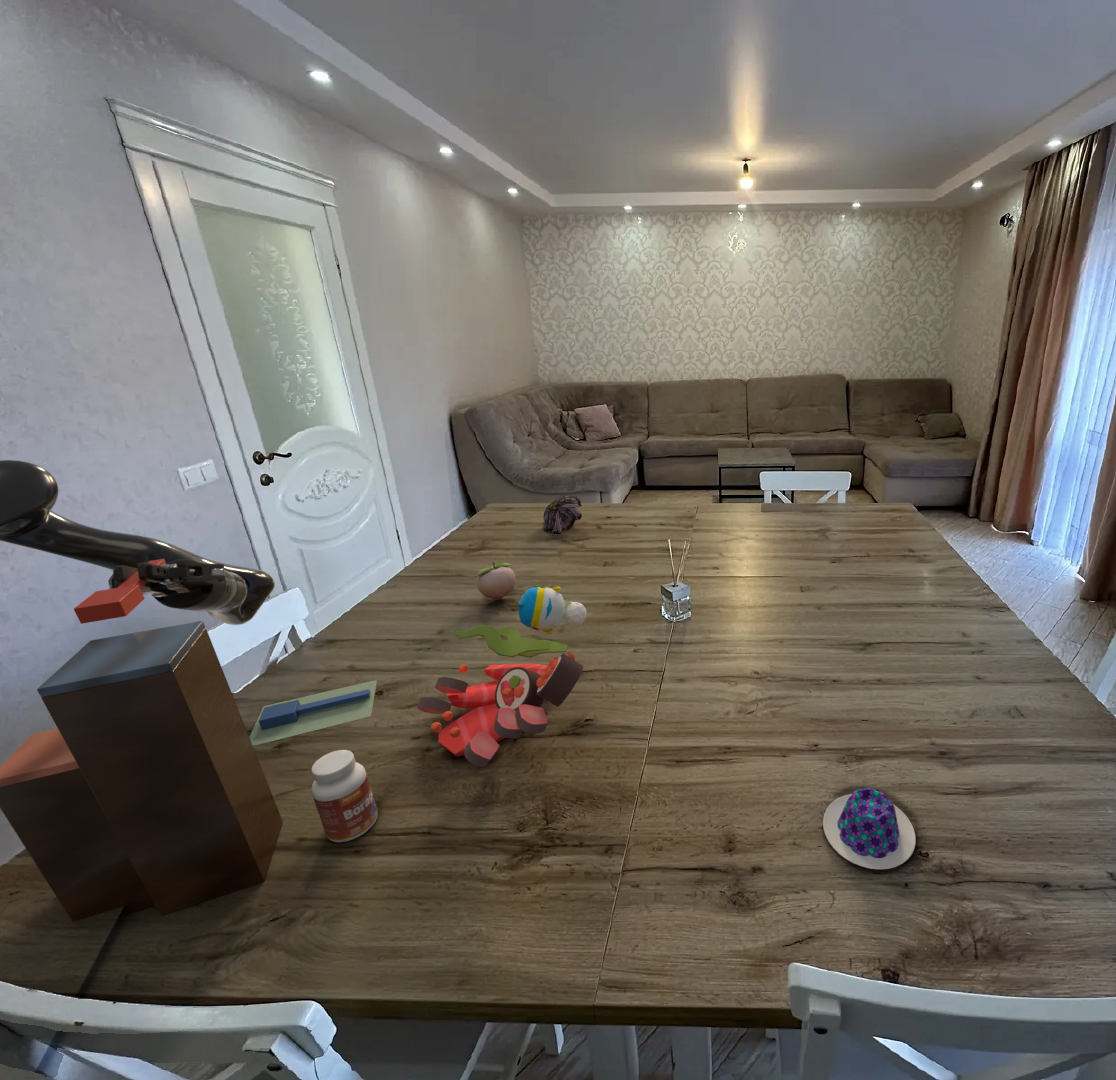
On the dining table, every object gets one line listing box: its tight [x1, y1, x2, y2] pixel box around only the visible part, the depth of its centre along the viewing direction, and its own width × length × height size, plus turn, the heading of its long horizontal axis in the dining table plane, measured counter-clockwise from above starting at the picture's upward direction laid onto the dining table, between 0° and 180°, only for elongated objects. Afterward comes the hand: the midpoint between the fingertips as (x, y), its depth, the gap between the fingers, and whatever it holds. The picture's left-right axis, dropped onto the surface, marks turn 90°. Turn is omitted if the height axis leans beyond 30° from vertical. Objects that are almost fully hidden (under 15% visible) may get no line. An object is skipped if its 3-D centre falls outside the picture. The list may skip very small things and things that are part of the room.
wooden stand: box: [0, 620, 284, 923], centre depth 65 cm, size 18×10×32 cm, turn 115°
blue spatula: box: [259, 689, 371, 730], centre depth 100 cm, size 4×16×2 cm, turn 115°
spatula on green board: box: [249, 679, 378, 747], centre depth 100 cm, size 18×12×1 cm, turn 115°
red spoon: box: [73, 559, 167, 625], centre depth 72 cm, size 4×16×2 cm, turn 25°
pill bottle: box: [310, 749, 379, 843], centre depth 76 cm, size 6×6×11 cm
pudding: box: [822, 787, 917, 870], centre depth 74 cm, size 12×12×5 cm
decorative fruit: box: [475, 562, 517, 600], centre depth 139 cm, size 9×8×10 cm
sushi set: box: [416, 586, 588, 768], centre depth 97 cm, size 29×30×24 cm
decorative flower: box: [542, 495, 583, 535], centre depth 187 cm, size 15×12×15 cm
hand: (131, 572), depth 72 cm, fingers closed on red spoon, 1 cm apart
